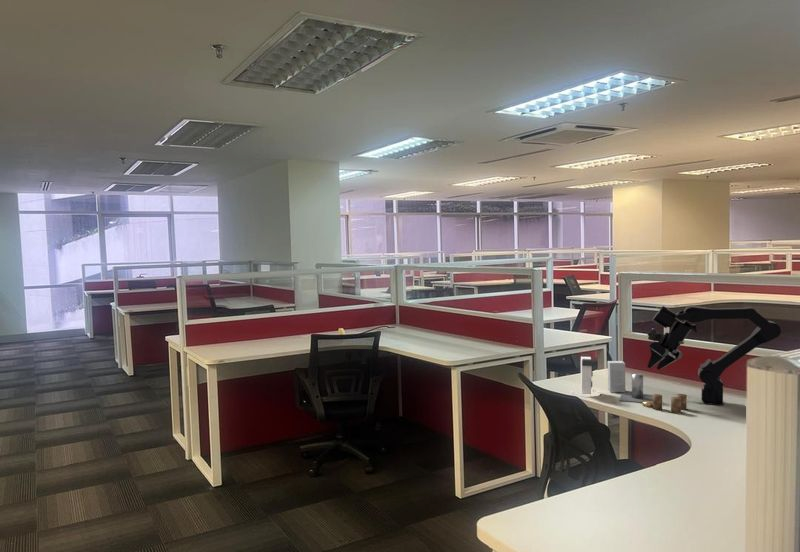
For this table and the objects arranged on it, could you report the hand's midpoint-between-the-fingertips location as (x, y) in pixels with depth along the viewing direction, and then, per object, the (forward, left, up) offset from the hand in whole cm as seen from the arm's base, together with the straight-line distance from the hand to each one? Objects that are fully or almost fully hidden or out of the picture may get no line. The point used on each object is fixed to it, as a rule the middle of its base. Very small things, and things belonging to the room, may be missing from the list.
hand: (653, 368), depth 221 cm
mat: (+6, +3, -11) cm, 13 cm away
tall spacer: (+6, +3, -11) cm, 13 cm away
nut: (+2, +12, -12) cm, 17 cm away
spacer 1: (-1, +15, -11) cm, 19 cm away
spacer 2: (-7, +17, -11) cm, 22 cm away
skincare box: (+14, -6, -12) cm, 19 cm away
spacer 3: (-9, +12, -11) cm, 19 cm away
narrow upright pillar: (+25, +2, -12) cm, 27 cm away
